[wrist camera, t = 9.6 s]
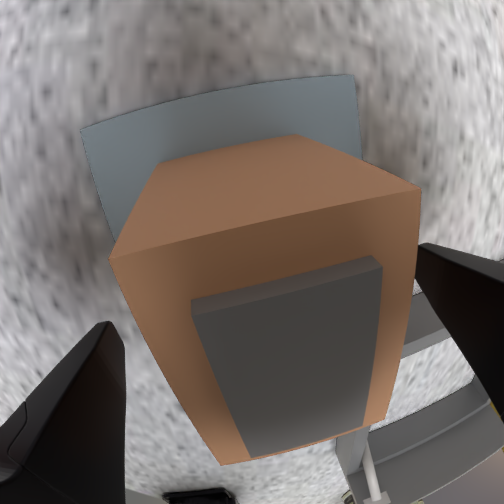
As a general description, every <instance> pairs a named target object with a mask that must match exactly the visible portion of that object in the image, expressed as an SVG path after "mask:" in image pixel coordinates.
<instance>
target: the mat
mask: <svg viewBox="0 0 504 504" xmlns="http://www.w3.org/2000/svg"><path fill="white" fill-rule="evenodd" d="M80 133H81V137H82V140H83V144H84V148H85V151H86V155H87V159H88V162H89V166H90V169H91V172H92V176H93V179H94V182H95V185H96V189H97V192H98V195H99V198H100V201H101V204H102V207H103V210H104V213H105V216H106V219H107V222H108V224H109V227H110V230H111V233H112V235H113V238H114V241H115V243H116V241H117V239H118V237H119V235H120V233H121V231H122V229H123V227H124V225H125V223H126V221H127V219H128V217H129V215H130V213H131V211H132V209H133V207H134V205H135V203H136V201H137V200H138V198H139V196H140V194H141V192H142V190H143V188H144V187H145V185H146V183H147V181H148V179H149V178H150V176H151V174H152V172H153V171H154V169H155V167H156V165H157V164H158V163H161V162H165V161H169V160H173V159H177V158H181V157H185V156H189V155H193V154H197V153H201V152H206V151H210V150H215V149H219V148H224V147H228V146H233V145H238V144H243V143H248V142H253V141H259V140H264V139H270V138H275V137H281V136H287V135H293V134H298V135H301V136H304V137H307V138H309V139H312V140H314V141H317V142H319V143H322V144H325V145H327V146H329V147H332V148H334V149H337V150H339V151H342V152H344V153H346V154H349V155H351V156H353V157H356V158H358V159H360V160H363V159H362V146H361V134H360V124H359V114H358V105H357V97H356V89H355V81H354V75H335V76H320V77H308V78H298V79H289V80H280V81H272V82H265V83H258V84H251V85H245V86H239V87H234V88H228V89H223V90H218V91H213V92H208V93H203V94H198V95H194V96H190V97H185V98H181V99H177V100H173V101H169V102H165V103H161V104H158V105H154V106H151V107H147V108H144V109H140V110H137V111H133V112H130V113H127V114H124V115H121V116H118V117H114V118H111V119H108V120H106V121H103V122H100V123H97V124H94V125H91V126H89V127H86V128H83V129H81V130H80Z"/></svg>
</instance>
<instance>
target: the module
mask: <svg viewBox="0 0 504 504" xmlns="http://www.w3.org/2000/svg"><path fill="white" fill-rule="evenodd" d="M420 206H421V188H419V187H417V186H415V185H413V184H411V183H409V182H407V181H405V180H403V179H401V178H399V177H397V176H395V175H393V174H391V173H389V172H387V171H385V170H382V169H380V168H378V167H376V166H374V165H372V164H369V163H367V162H365V161H363V160H360V159H358V158H356V157H353V156H351V155H349V154H346V153H344V152H342V151H339V150H337V149H334V148H332V147H329V146H327V145H325V144H322V143H319V142H317V141H314V140H312V139H309V138H307V137H304V136H301V135H298V134H293V135H287V136H281V137H275V138H270V139H264V140H259V141H253V142H248V143H243V144H238V145H233V146H228V147H224V148H219V149H215V150H210V151H206V152H201V153H197V154H193V155H189V156H185V157H181V158H177V159H173V160H169V161H165V162H161V163H158V164H157V165H156V167H155V169H154V171H153V172H152V174H151V176H150V178H149V179H148V181H147V183H146V185H145V187H144V188H143V190H142V192H141V194H140V196H139V198H138V200H137V201H136V203H135V205H134V207H133V209H132V211H131V213H130V215H129V217H128V219H127V221H126V223H125V225H124V227H123V229H122V231H121V233H120V235H119V237H118V239H117V241H116V243H115V245H114V247H113V249H112V252H111V254H110V256H109V258H108V260H109V263H110V265H111V267H112V270H113V272H114V274H115V277H116V279H117V281H118V284H119V286H120V288H121V291H122V293H123V295H124V297H125V299H126V302H127V304H128V306H129V308H130V310H131V312H132V314H133V317H134V319H135V321H136V323H137V325H138V327H139V329H140V331H141V333H142V335H143V337H144V339H145V341H146V343H147V345H148V347H149V349H150V351H151V352H152V354H153V356H154V358H155V360H156V362H157V364H158V366H159V367H160V369H161V371H162V373H163V375H164V376H165V378H166V380H167V382H168V384H169V385H170V387H171V389H172V390H173V392H174V394H175V396H176V397H177V399H178V401H179V402H180V404H181V406H182V407H183V409H184V411H185V412H186V414H187V415H188V417H189V419H190V420H191V422H192V423H193V425H194V427H195V428H196V430H197V431H198V433H199V434H200V436H201V437H202V439H203V440H204V442H205V443H206V445H207V446H208V448H209V449H210V451H211V452H212V454H213V455H214V457H215V458H216V460H217V461H218V462H219V464H220V465H221V466H223V465H229V464H234V463H240V462H245V461H250V460H255V459H259V458H264V457H268V456H273V455H277V454H281V453H285V452H289V451H293V450H296V449H300V448H303V447H307V446H310V445H314V444H317V443H320V442H324V441H327V440H330V439H333V438H336V437H339V436H342V435H345V434H348V433H350V432H353V431H356V430H359V429H361V428H364V427H367V426H369V425H372V424H374V423H377V422H379V421H382V420H384V419H385V416H386V413H387V409H388V406H389V402H390V399H391V395H392V391H393V388H394V384H395V380H396V376H397V372H398V367H399V363H400V359H401V354H402V349H403V344H404V340H405V334H406V329H407V324H408V318H409V312H410V306H411V299H412V293H413V285H414V278H415V269H416V260H417V250H418V239H419V225H420Z"/></svg>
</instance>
